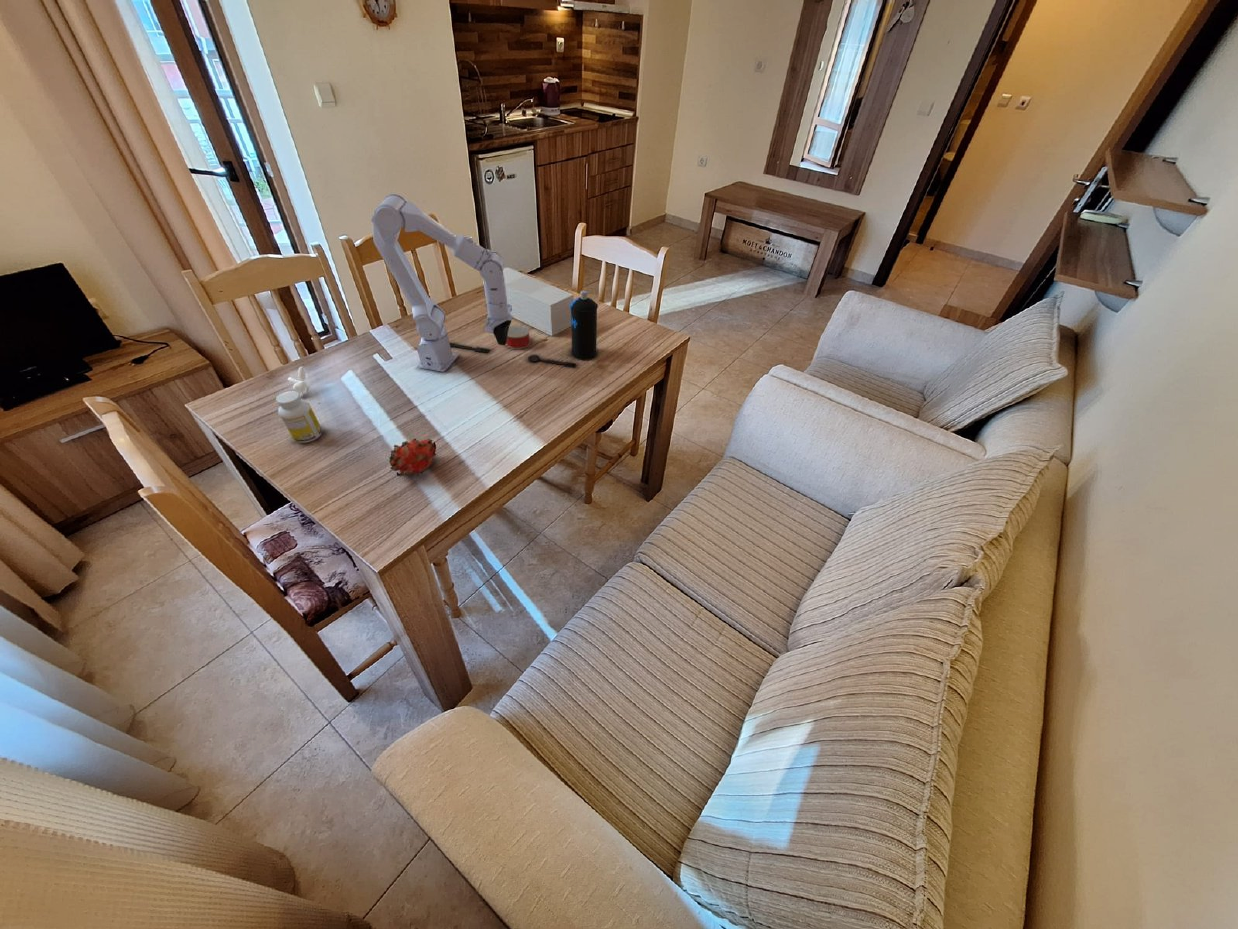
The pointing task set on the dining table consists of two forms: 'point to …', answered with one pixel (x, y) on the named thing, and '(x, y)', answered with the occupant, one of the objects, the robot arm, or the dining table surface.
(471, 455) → the dining table surface
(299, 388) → the rabbit figurine
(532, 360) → the spoon
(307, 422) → the pill bottle
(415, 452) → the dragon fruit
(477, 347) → the fork
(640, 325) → the dining table surface
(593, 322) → the aerosol can
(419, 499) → the dining table surface
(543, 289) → the long white block
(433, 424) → the dining table surface
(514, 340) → the tin can
